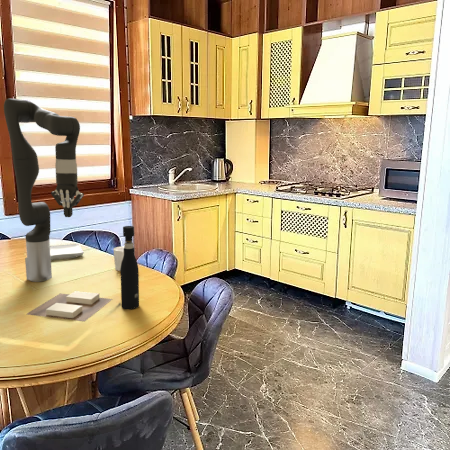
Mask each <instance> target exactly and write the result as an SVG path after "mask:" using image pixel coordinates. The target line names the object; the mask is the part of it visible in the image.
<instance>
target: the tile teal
mask: <svg viewBox="0 0 450 450" xmlns="http://www.w3.org/2000/svg"><path fill="white" fill-rule="evenodd" d="M100 298H101V297H100V293H98V292H89V291H88V292H86V291H78V290H74V291H73V292H71V293H70V295H68V296H66V302H73V303H82V304H93V303H94V302H95V301H97V300H98V299H100Z"/></svg>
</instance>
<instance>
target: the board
mask: <svg viewBox="0 0 450 450" xmlns="http://www.w3.org/2000/svg"><path fill="white" fill-rule="evenodd" d="M70 294H71V293H70ZM70 294H69V293H58V294H57V295H55V296H54V297H52V298H51V299H49V300H46V301H45V302H44V303H42V304H41V305H39V306H37V307H35V308H33V309H32V310H30V311H29V312H27V313H26V315H30V316H37V317H44V318H51V319H53V318H54V319H60V320H61V319H63V320H69V321H77V322H86V321H87V320H88V319H90V318H91V317H92V316H94V315H95V314H97V312H99V311H100V310H101V309H102V308H104V307H106V305H107V304H108V303H110V302H111V301H113V299H112V298H107V297H106V298H105V297H99V298H100V299H98V300H97V301H95V302H94V303H93V304H82V303H73V302H66V296H68V295H70ZM55 303H63V304H71V305H80V306H82V312H81V313H79V314H78V315H77V316H75V317H74V318H67V317H59V316H51V315H46V309H47V308H49V307H51V306H52V305H54V304H55Z"/></svg>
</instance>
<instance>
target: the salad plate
mask: <svg viewBox="0 0 450 450" xmlns="http://www.w3.org/2000/svg"><path fill="white" fill-rule="evenodd" d="M83 254H84V250H83V249H82V246H81V244H80V243H67V244H66V243H65V244H56V245H55V244H54V245H50V255H51V261H53V260H64V259H73V258H77V257H80V256H82V255H83Z"/></svg>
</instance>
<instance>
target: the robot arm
mask: <svg viewBox="0 0 450 450" xmlns="http://www.w3.org/2000/svg"><path fill="white" fill-rule="evenodd" d="M3 114H4V119H5V122H6V126H7V131H8V135H9V139H10V146H11V147H10V148H11V154H12V162H13V168H14V174H15V175H14V176H15V181H16V189H17V204H18V216H19V219H20V222H21V224H22V225H24V227H25V226H26V227H32V226H34V227H33V229H31V230H30V231H29V232H27V233H26V234H25V246H26V257H25V259H24V260H25V261H24V263H25V276H26V280H28V281H30V282H36V283H37V282H44V281H45V282H46V281H49V280H50V279H52V278H53V274H52V260H51V255H50V246H51V242H50V235H51V211H50V207H49V205H48V204H47V203H46V202H45V201H38V202H32V192H33V187H34V184H35V182H36V180H37V178H38V176H39V173H40V165H39V159H38V154H37V152H36V150H35V149H34V148H33V146H32V145H31V144H30V143H29V142H28V140H27V139H26V138H25V136H24V134H23V132H22V130H21V125H20V123H21V124H24V123H25V124H27V123H35V124H36V125H37V126H38V127H39V128H41V129H44V130H47V131H48V132H49V133H50V134H51V135H53V136H58V137H65V139H64V141H61V142H58V143H56V145H55V163H54V164H55V182H56V187H55V189H54V191H51V192H50V195H51V196H52V197H53V198H54V201H55V202H56V203H57V204H58V206H61V207H62V208H63V215H64V217H65V218H71V217H73V215H74V214H73V213H74V212H73V207H75V206H76V207H77V205H78V204H79V203H80V202H81V200H82V199H83V197H84V196H85V194H84V193H82V192H80V191H79V188H78V183H79V182H78V181H79V180H78V163H77V153H76V152H77V151H76V149H77V144H78V139H79V135H80V131H81V126H80V125H81V124H80V122H79V120H78V119H77V117H74V116H70V115H69V116H67V115H59V114H58V113H56V112H54V111H50V110H47V109H45V108H42V107H41V106H39V105H38V104H36V103H35V102H33V101H31V100H28V99H24V98H23V99H22V98H7V99H5V101H4V103H3Z"/></svg>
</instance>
